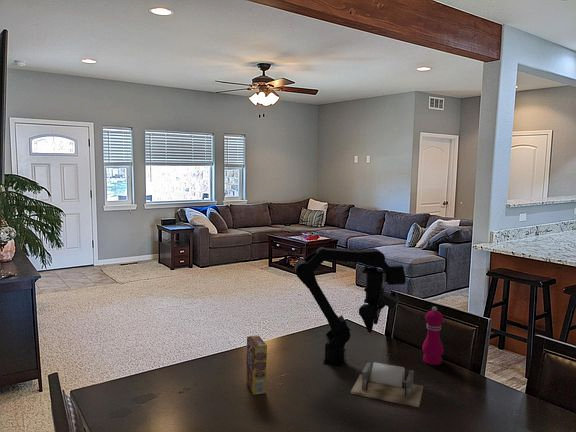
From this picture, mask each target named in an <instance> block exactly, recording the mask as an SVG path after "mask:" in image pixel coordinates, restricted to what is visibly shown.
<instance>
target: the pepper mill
mask: <svg viewBox="0 0 576 432" xmlns="http://www.w3.org/2000/svg"><path fill="white" fill-rule="evenodd" d="M424 319H425V322H426V329H427V333H426V334H427V335H426V338H425V339H424V341H423V344H422V347H421V350H422V352H423V355H422V361H423V362H424V363H425V364H427V365H431V366H439V365H441V364H442V359H443V358H442V355H444V346H443V343H442V341H441V337H440V331H441V330H442V323H443V322H444V315H443V314H442V313H441V312H440V311H438V308H437V307H436V306H432V307H431V310H428V311H427V312H426V313H425V318H424Z"/></svg>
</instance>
